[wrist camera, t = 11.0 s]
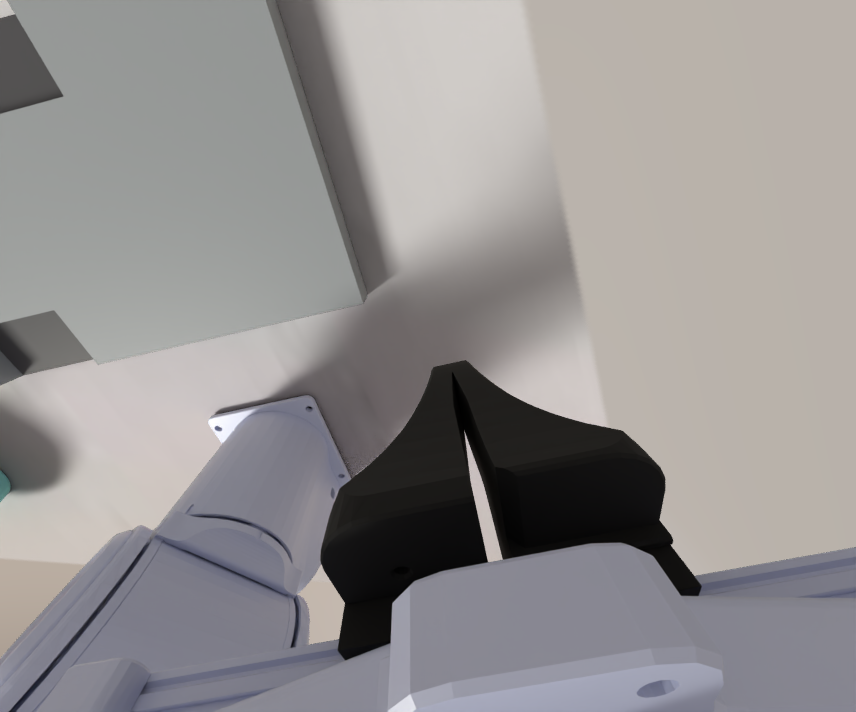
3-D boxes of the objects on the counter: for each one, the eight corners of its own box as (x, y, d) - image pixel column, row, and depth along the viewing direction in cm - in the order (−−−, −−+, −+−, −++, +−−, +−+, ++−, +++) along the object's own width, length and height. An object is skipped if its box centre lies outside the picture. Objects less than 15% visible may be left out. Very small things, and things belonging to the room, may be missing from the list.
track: (367, 294, 19) (360, 310, 16) (-73, 396, 21) (-150, 426, 18) (260, -51, 13) (216, -125, 10) (-376, 133, 14) (-576, 114, 11)
